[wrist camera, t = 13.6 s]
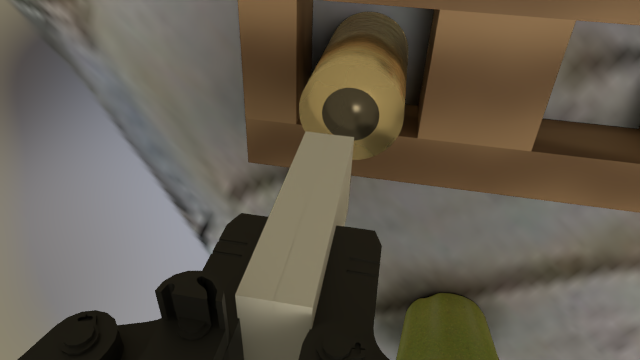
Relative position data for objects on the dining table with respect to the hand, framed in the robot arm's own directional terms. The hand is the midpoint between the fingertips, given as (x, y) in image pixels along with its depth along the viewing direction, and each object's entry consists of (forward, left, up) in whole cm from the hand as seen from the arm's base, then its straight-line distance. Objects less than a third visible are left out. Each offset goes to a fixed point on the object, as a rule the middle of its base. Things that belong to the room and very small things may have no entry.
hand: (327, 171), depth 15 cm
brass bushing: (-1, 0, -13) cm, 13 cm away
